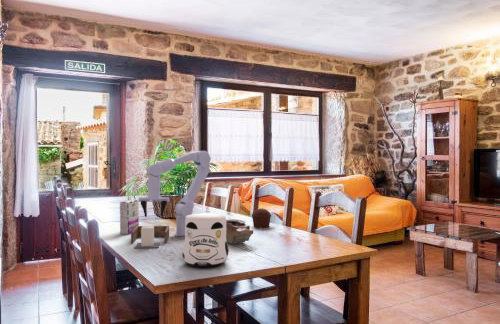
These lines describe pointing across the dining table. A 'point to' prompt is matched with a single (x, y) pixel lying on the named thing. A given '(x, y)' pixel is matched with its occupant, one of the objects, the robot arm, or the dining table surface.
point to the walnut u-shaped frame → (157, 232)
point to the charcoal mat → (138, 246)
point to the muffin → (261, 218)
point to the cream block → (147, 236)
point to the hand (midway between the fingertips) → (153, 216)
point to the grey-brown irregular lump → (237, 231)
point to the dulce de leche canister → (205, 240)
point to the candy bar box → (128, 216)
